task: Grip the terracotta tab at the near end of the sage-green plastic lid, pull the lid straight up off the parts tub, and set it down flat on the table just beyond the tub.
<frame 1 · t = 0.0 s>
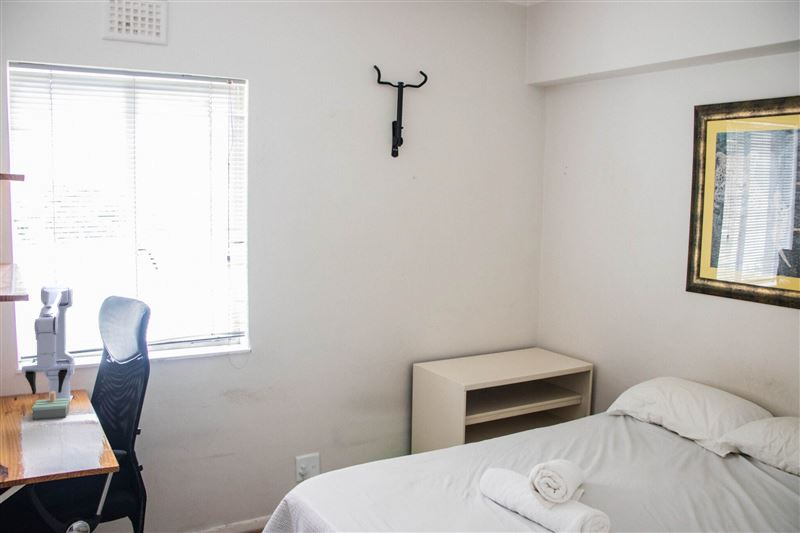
hand: (47, 392, 220), 10 cm above the table, fingers open, 7 cm apart
tub: (51, 414, 230), on the table
lid: (51, 407, 229), point 2 cm above the table, touching tub
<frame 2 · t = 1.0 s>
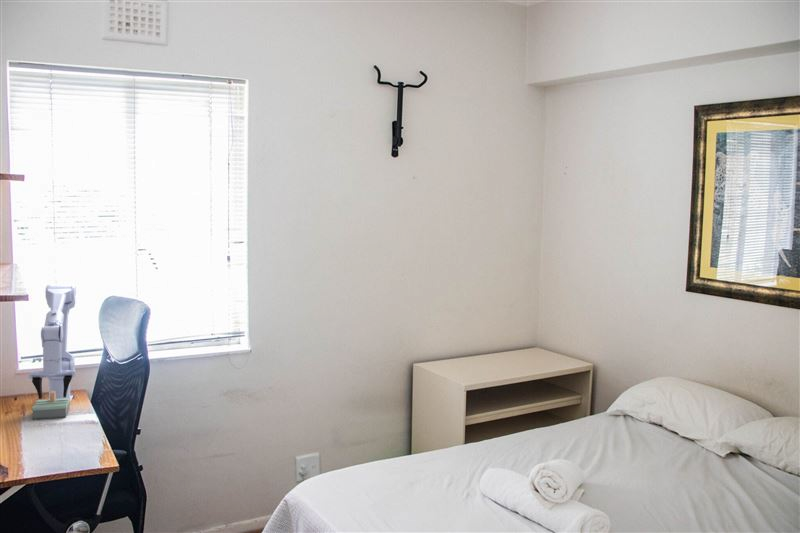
hand: (52, 397, 232), 5 cm above the table, fingers open, 7 cm apart
nothing on the table moved.
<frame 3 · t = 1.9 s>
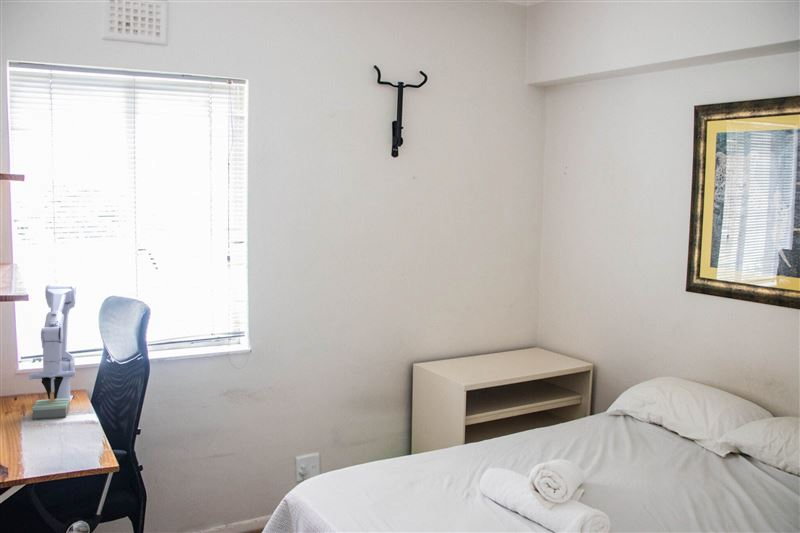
hand: (52, 398, 232), 5 cm above the table, fingers closed on lid
lid: (51, 407, 229), point 2 cm above the table, touching gripper, tub
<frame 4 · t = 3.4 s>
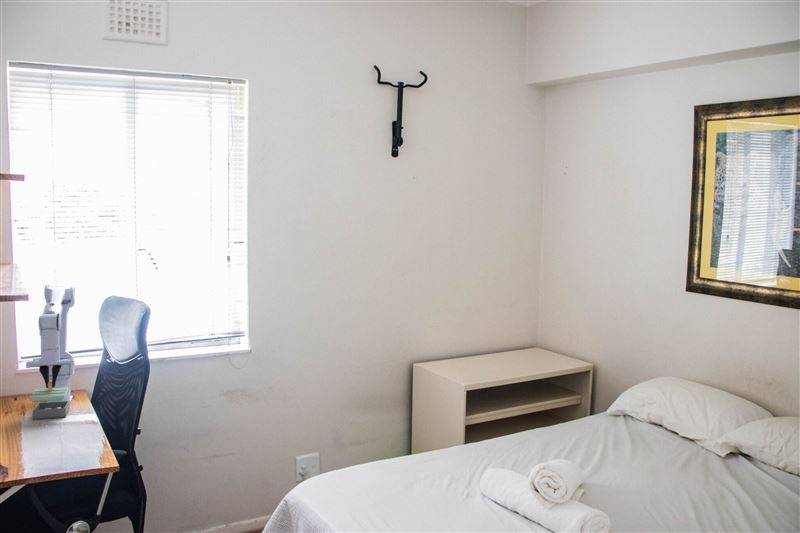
hand: (50, 387, 227), 10 cm above the table, fingers closed on lid
lid: (49, 397, 225), point 7 cm above the table, touching gripper
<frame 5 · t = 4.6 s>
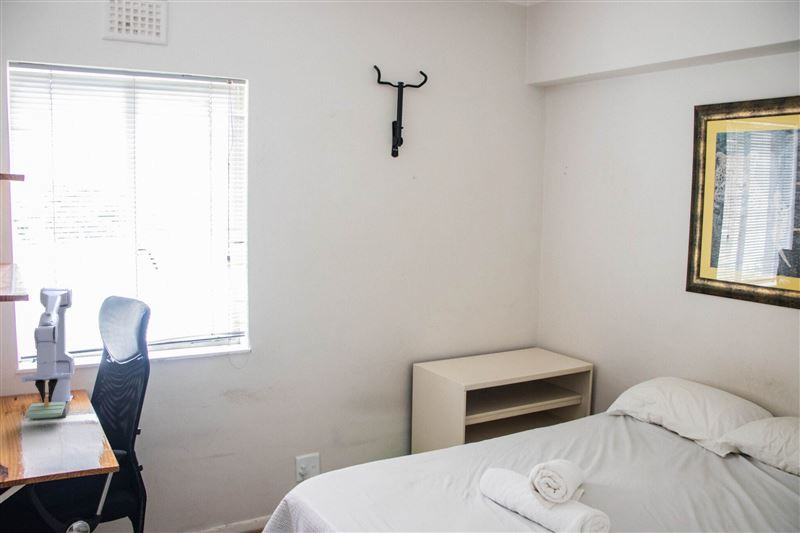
hand: (47, 401, 220), 7 cm above the table, fingers closed on lid
lid: (46, 413, 219), point 4 cm above the table, tilted 5°, touching gripper
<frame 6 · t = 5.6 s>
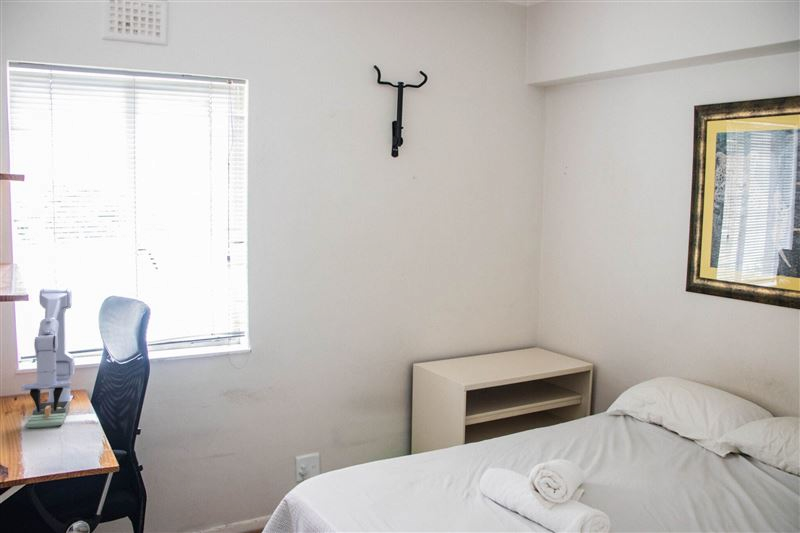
hand: (47, 410, 220), 4 cm above the table, fingers open, 4 cm apart
lid: (46, 423, 219), on the table
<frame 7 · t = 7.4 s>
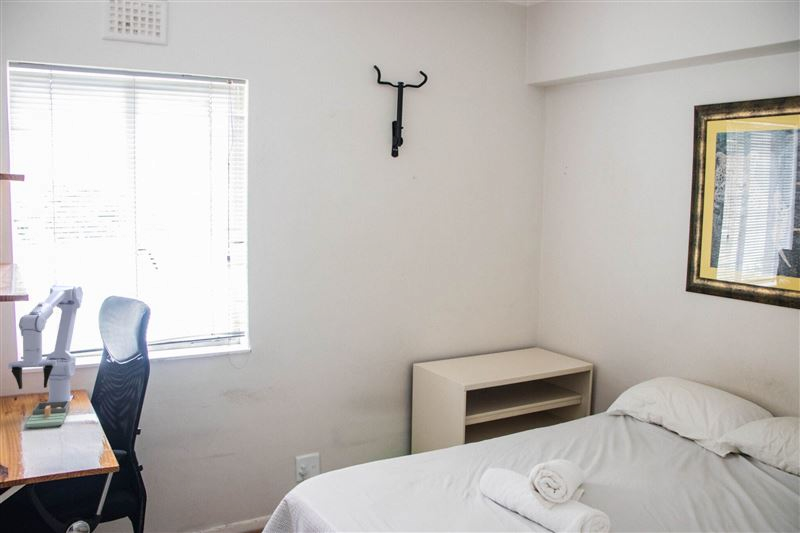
hand: (33, 387, 229), 9 cm above the table, fingers open, 7 cm apart
nothing on the table moved.
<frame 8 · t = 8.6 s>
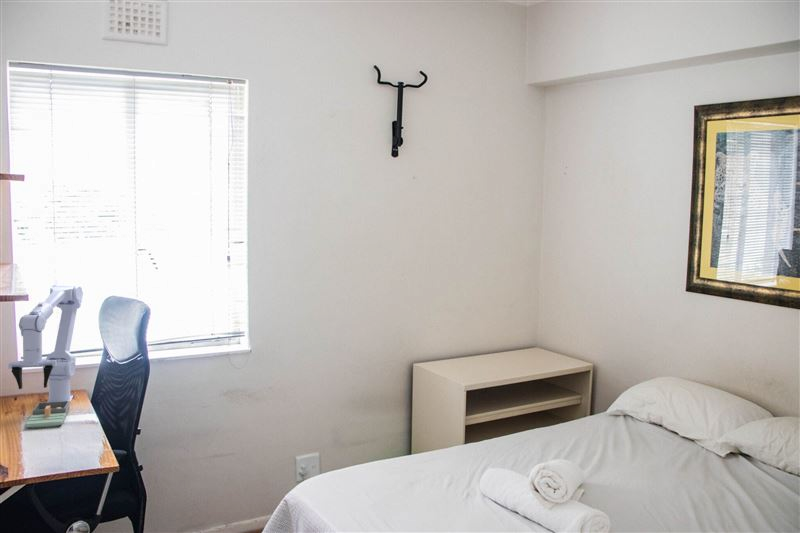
hand: (33, 387, 229), 9 cm above the table, fingers open, 7 cm apart
nothing on the table moved.
at the end: lid touching table; lid inside the target area (0.5 cm from its centre), on the table; lid tilted 0° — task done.
